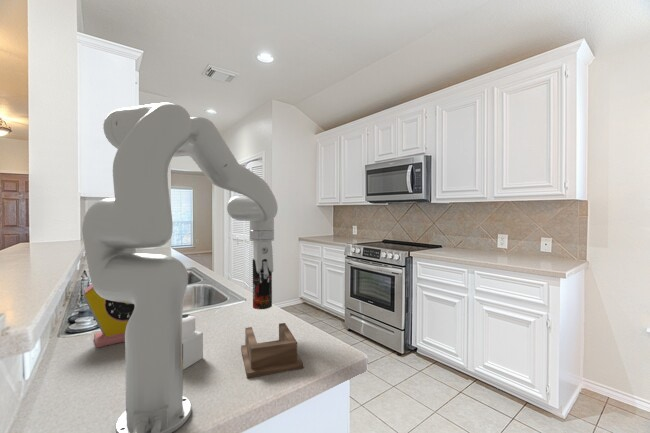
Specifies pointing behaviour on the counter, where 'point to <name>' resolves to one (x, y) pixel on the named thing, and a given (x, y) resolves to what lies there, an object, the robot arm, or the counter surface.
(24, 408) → the counter surface
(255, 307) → the deodorant
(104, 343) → the yellow clock
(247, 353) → the cradle
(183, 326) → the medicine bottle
